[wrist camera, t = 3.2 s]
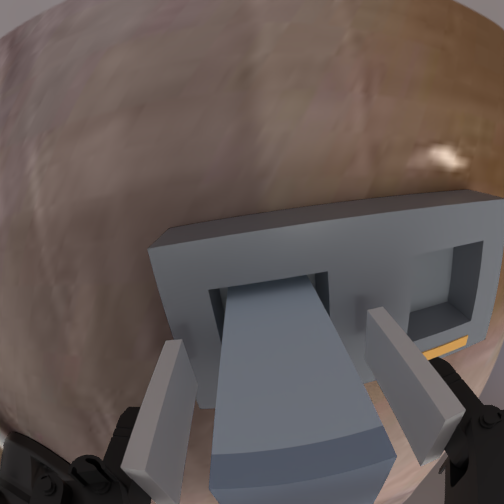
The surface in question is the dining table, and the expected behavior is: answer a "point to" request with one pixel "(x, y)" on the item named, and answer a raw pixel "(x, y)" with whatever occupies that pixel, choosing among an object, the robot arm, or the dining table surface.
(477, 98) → the dining table surface
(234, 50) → the dining table surface
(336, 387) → the plug
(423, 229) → the panel
